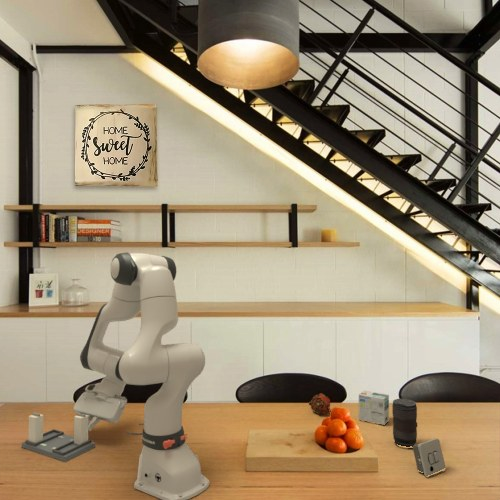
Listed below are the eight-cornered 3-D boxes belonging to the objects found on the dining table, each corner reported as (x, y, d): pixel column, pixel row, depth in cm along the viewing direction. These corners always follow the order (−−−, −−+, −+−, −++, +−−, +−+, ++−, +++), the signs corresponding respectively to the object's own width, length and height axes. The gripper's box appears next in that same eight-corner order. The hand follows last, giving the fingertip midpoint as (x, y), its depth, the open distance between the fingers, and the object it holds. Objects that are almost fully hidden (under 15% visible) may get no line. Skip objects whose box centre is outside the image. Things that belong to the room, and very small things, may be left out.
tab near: (88, 441, 145) (88, 413, 146) (80, 445, 143) (81, 416, 143) (80, 439, 147) (81, 411, 147) (73, 443, 144) (74, 414, 145)
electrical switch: (427, 479, 126) (424, 446, 126) (412, 473, 130) (410, 441, 131) (446, 471, 130) (444, 439, 131) (432, 465, 135) (429, 435, 136)
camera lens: (396, 437, 154) (396, 396, 154) (419, 443, 149) (419, 401, 150) (389, 445, 148) (389, 402, 148) (413, 452, 143) (413, 407, 143)
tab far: (42, 441, 146) (43, 413, 146) (35, 444, 143) (35, 415, 143) (36, 439, 147) (36, 411, 148) (28, 442, 145) (28, 414, 145)
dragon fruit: (321, 422, 172) (316, 415, 184) (337, 409, 173) (331, 403, 185) (308, 404, 174) (304, 399, 185) (325, 392, 174) (320, 387, 186)
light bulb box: (389, 421, 170) (389, 394, 170) (385, 426, 165) (385, 398, 165) (363, 415, 176) (363, 389, 176) (358, 420, 170) (358, 393, 171)
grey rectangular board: (95, 447, 145) (95, 440, 145) (65, 461, 135) (65, 454, 135) (52, 434, 155) (52, 428, 156) (21, 447, 145) (21, 440, 145)
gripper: (133, 402, 153) (112, 439, 144) (93, 393, 162) (71, 428, 154) (124, 393, 149) (102, 431, 140) (84, 384, 159) (61, 419, 150)
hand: (86, 429), depth 147 cm, fingers closed
